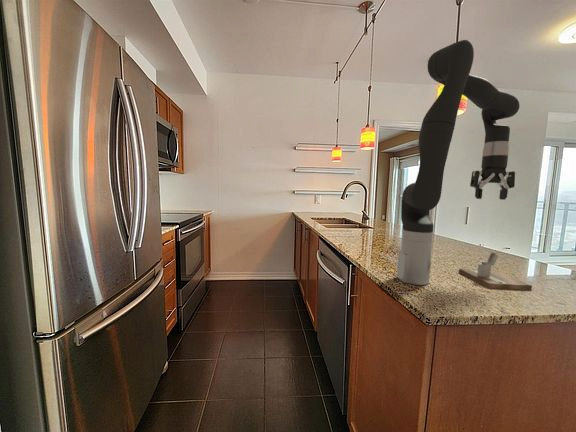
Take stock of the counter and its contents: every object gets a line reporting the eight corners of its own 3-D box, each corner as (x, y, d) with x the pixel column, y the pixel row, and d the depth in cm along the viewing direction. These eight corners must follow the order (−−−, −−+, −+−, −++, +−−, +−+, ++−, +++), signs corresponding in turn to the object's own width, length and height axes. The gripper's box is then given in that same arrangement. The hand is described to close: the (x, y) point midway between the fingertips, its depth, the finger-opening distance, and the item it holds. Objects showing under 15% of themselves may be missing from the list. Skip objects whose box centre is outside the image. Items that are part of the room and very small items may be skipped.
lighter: (482, 277, 88) (484, 254, 88) (476, 275, 90) (479, 253, 89) (496, 275, 91) (498, 253, 90) (491, 274, 92) (493, 252, 91)
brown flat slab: (489, 288, 83) (489, 282, 83) (459, 272, 99) (459, 268, 98) (531, 289, 82) (532, 284, 82) (494, 273, 98) (494, 269, 98)
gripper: (481, 153, 92) (477, 199, 94) (523, 154, 91) (518, 200, 93) (468, 156, 100) (464, 198, 101) (507, 156, 99) (502, 199, 100)
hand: (490, 199), depth 97 cm, fingers open, 8 cm apart
